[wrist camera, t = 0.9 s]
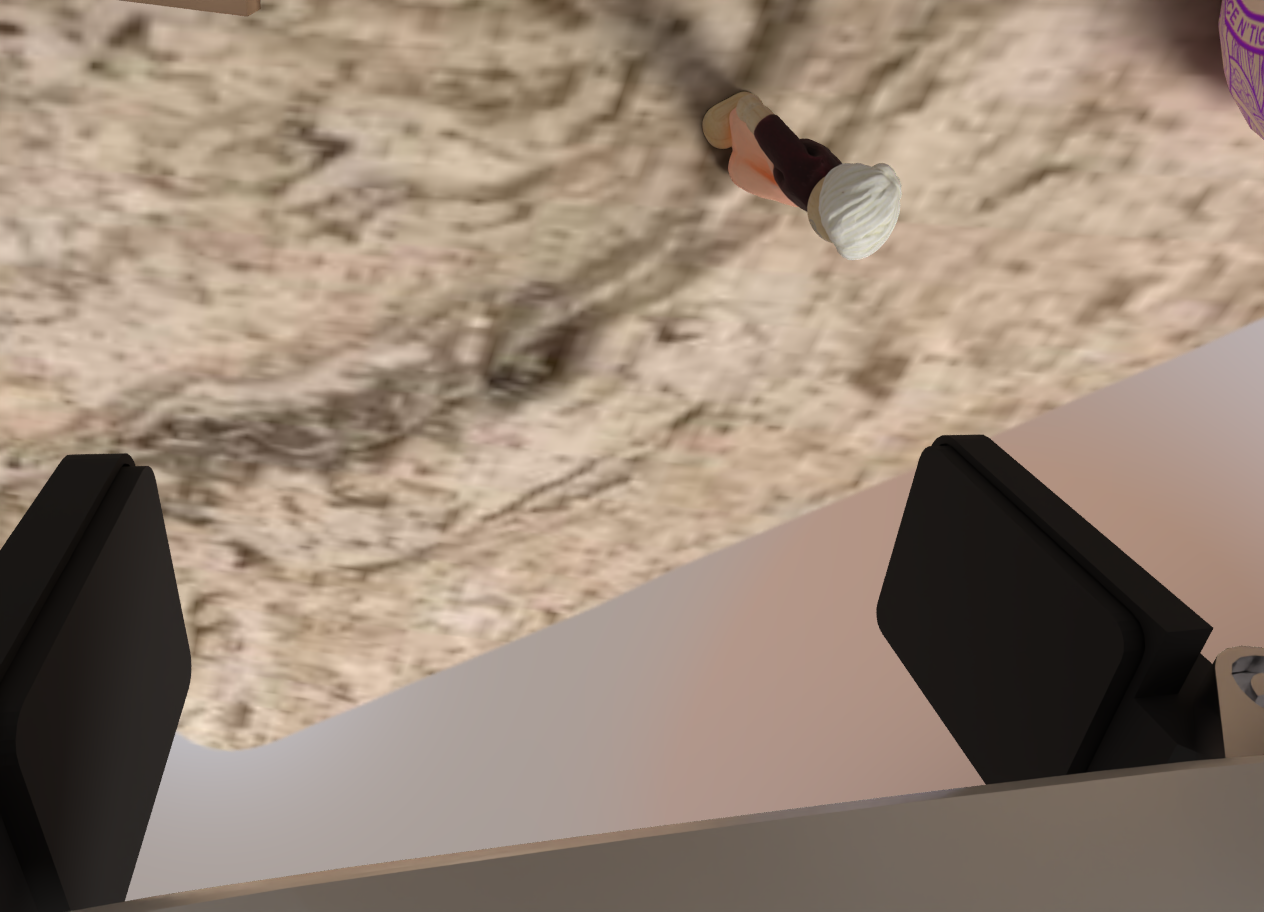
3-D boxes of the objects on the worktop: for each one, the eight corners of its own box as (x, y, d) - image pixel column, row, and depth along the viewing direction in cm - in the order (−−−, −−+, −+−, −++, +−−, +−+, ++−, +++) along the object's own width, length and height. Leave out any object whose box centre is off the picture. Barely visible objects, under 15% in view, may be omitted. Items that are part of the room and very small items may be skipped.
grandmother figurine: (665, 139, 39) (753, 223, 29) (712, 59, 38) (823, 116, 27) (795, 220, 42) (917, 322, 32) (842, 148, 41) (987, 230, 30)
